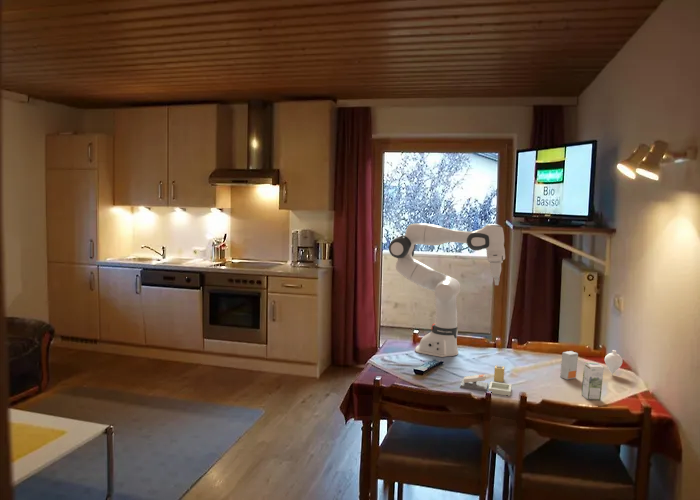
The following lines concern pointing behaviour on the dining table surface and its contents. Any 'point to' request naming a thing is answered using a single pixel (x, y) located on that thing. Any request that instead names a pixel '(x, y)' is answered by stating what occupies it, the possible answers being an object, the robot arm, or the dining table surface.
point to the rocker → (474, 378)
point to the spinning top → (613, 361)
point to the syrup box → (592, 381)
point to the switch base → (474, 385)
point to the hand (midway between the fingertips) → (497, 283)
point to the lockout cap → (499, 373)
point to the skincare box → (569, 365)
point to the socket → (500, 388)
